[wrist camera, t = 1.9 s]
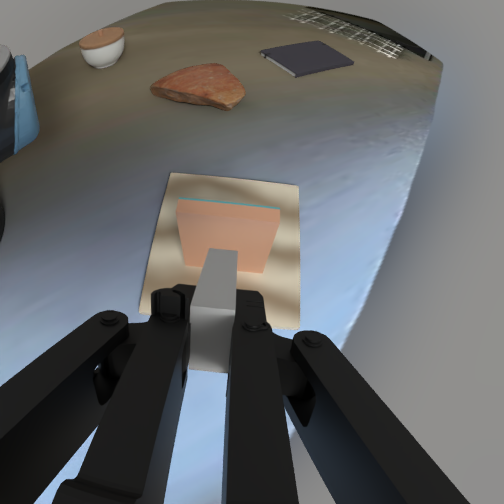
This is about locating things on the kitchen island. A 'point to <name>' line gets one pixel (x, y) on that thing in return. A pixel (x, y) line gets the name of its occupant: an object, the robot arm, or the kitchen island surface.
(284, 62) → the notebook
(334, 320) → the kitchen island surface
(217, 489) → the kitchen island surface
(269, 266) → the board
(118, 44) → the lidded jar
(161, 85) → the ceramic shard
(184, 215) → the tile
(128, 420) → the robot arm
